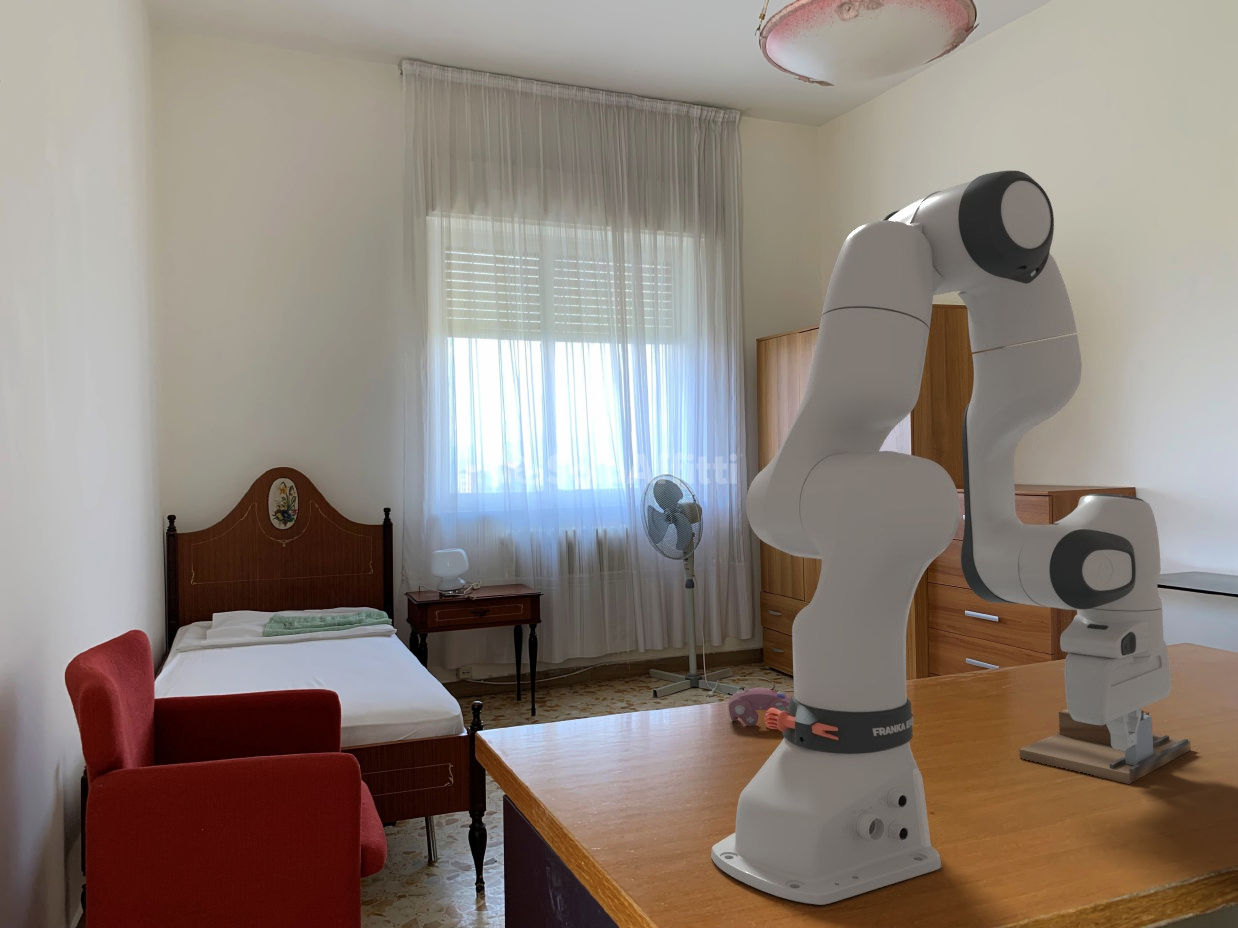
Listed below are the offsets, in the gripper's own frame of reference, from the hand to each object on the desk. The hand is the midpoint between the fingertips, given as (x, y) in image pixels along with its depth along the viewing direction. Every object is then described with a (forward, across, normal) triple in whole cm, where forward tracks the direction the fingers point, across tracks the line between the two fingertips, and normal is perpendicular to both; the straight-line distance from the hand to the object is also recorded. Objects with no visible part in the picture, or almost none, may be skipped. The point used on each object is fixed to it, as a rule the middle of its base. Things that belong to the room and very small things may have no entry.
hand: (1124, 747), depth 104 cm
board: (+4, -8, -6) cm, 11 cm away
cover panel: (+2, -4, 0) cm, 5 cm away
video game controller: (+4, +13, -45) cm, 47 cm away
